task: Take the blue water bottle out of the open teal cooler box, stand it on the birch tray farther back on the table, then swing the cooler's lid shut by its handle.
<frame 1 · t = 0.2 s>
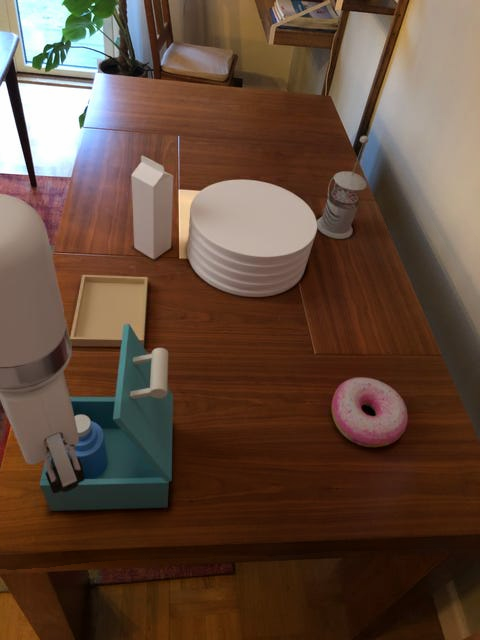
hand: (54, 445, 51), 23 cm above the table, tool pointing down, fingers open, 9 cm apart
donut: (364, 418, 86), on the table
bottle: (88, 463, 73), point 1 cm above the table, touching cooler
cooler lid: (164, 402, 62), point 18 cm above the table, hinge at 70.0°
milk: (152, 248, 110), on the table
tray: (112, 313, 95), on the table
plate stack: (246, 255, 113), on the table
cooler: (114, 465, 74), on the table
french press: (332, 225, 125), on the table
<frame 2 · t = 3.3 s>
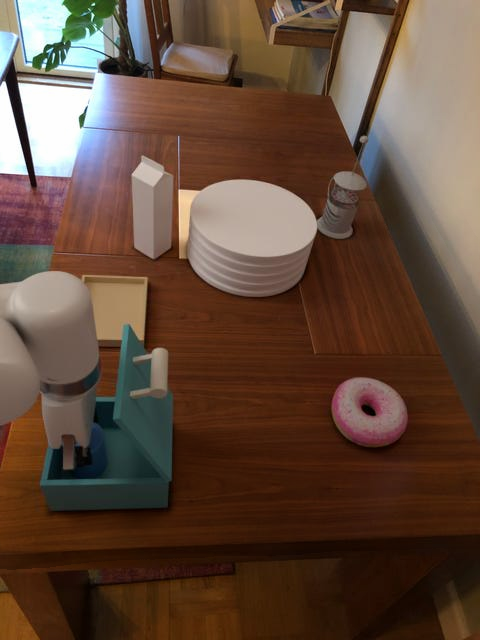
hand: (83, 441, 68), 8 cm above the table, tool pointing down, fingers closed on bottle, 5 cm apart
bottle: (88, 463, 73), point 1 cm above the table, touching cooler, gripper
everything else where it was.
when the fingers open (7 cm above the table, at t = 11.3 s): bottle stays where it is, resting on tray.
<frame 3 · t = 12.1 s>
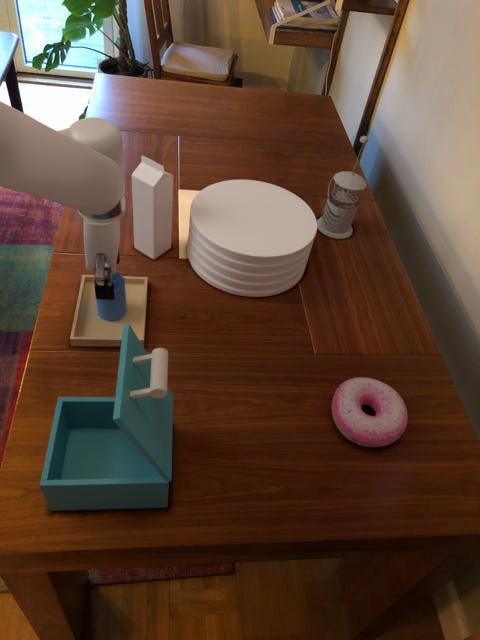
hand: (108, 279, 88), 9 cm above the table, tool pointing down, fingers open, 9 cm apart
bottle: (112, 311, 94), point 1 cm above the table, touching tray
everything else where it was.
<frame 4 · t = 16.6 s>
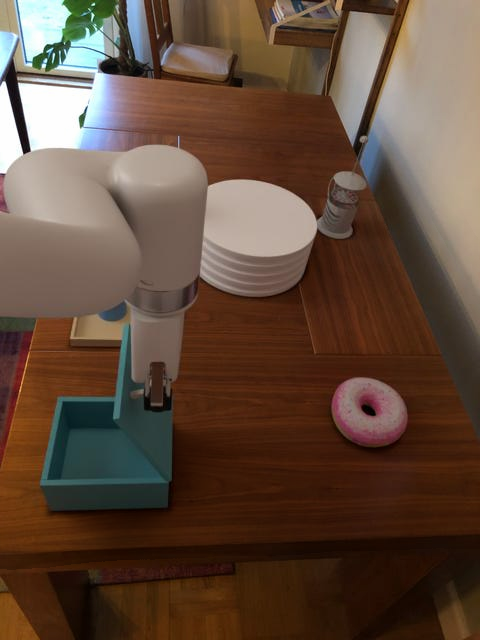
hand: (158, 384, 59), 22 cm above the table, tool pointing down, fingers closed on cooler lid, 6 cm apart
cooler lid: (164, 402, 62), point 18 cm above the table, hinge at 70.0°, touching gripper
everything else where it was.
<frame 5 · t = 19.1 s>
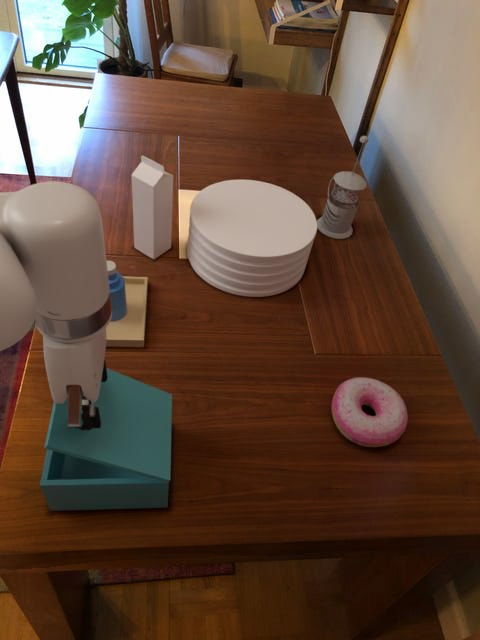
hand: (91, 401, 60), 18 cm above the table, tool pointing down, fingers closed on cooler lid, 6 cm apart
cooler lid: (126, 410, 63), point 16 cm above the table, hinge at 35.5°, touching gripper
everything else where it was.
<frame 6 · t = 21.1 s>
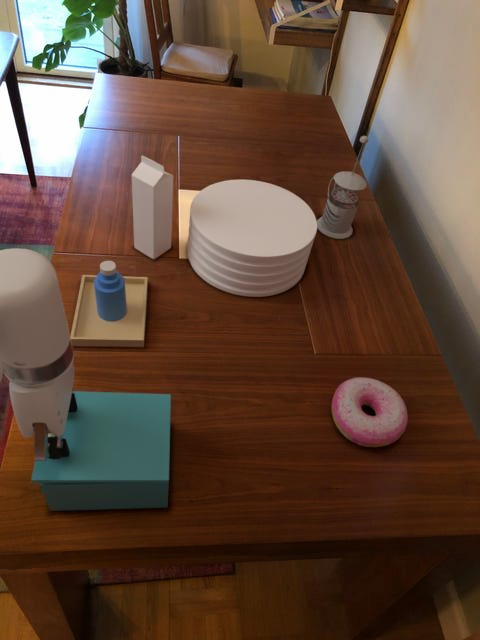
hand: (61, 431, 65), 11 cm above the table, tool pointing down, fingers closed on cooler lid, 6 cm apart
cooler lid: (107, 426, 65), point 12 cm above the table, hinge at 2.8°, touching gripper
everything else where it was.
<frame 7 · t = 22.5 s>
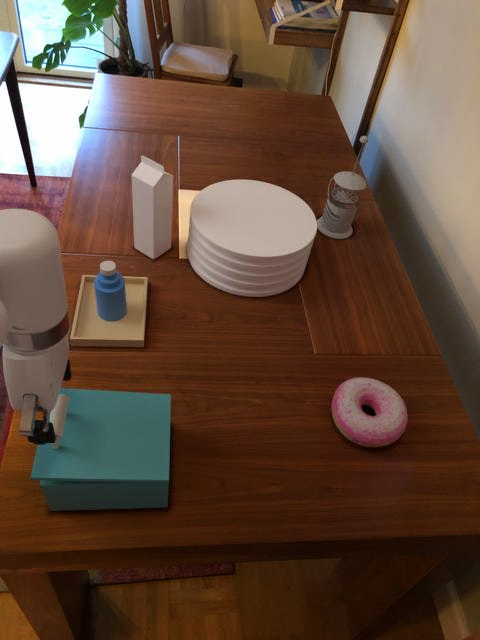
hand: (51, 407, 63), 14 cm above the table, tool pointing down, fingers open, 9 cm apart
cooler lid: (107, 425, 65), point 12 cm above the table, hinge at 5.3°, touching gripper
everything else where it was.
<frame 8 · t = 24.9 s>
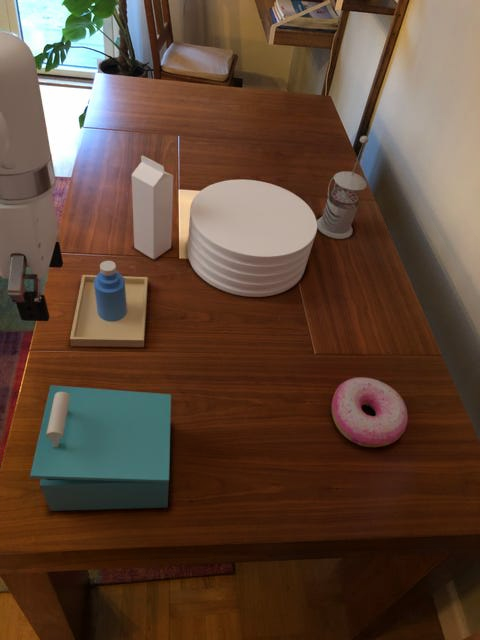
hand: (43, 291, 61), 26 cm above the table, tool pointing down, fingers open, 9 cm apart
cooler lid: (108, 424, 65), point 13 cm above the table, hinge at 7.2°
everything else where it was.
at the end: bottle inside the target area in the tray (0.0 cm from its centre), point 0.6 cm above the tray's base; bottle tilted 0°; cooler lid at +7° (first picture: +70°) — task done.
